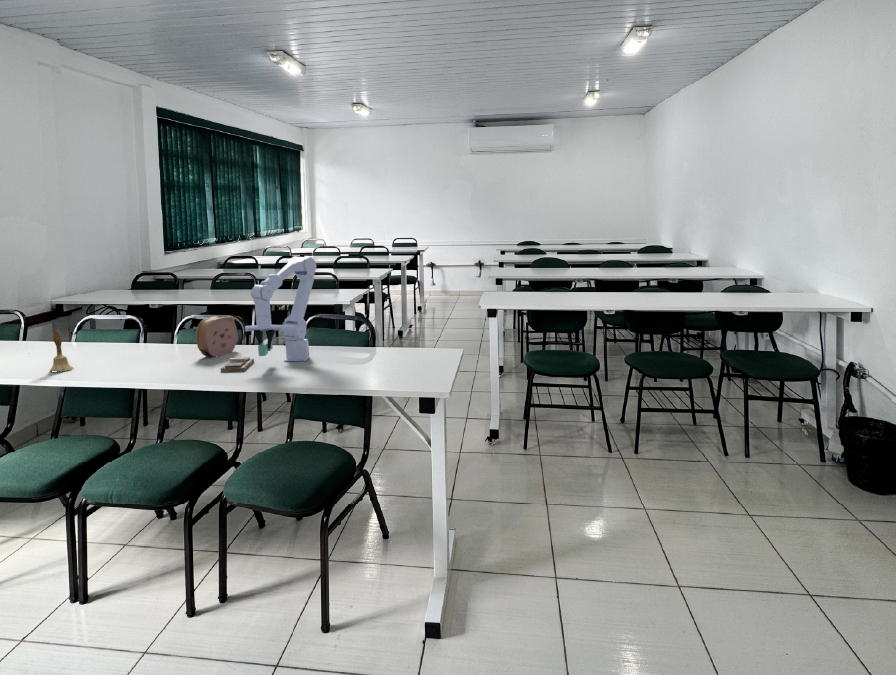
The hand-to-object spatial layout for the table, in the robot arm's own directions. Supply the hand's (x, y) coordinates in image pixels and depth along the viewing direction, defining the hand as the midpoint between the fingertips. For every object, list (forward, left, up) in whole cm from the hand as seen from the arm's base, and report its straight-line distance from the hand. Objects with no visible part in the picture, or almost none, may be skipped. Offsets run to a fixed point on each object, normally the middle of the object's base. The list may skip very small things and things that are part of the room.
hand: (265, 348), depth 239 cm
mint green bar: (0, 0, -2) cm, 2 cm away
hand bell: (+82, -4, -8) cm, 82 cm away
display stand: (+12, -2, -8) cm, 14 cm away
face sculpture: (+27, -27, -8) cm, 39 cm away
